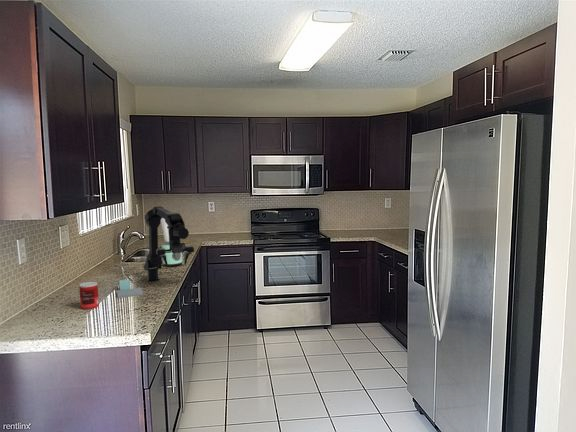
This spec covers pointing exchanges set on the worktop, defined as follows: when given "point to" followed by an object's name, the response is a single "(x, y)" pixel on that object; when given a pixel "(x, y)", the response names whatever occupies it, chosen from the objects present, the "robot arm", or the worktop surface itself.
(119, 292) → the pad
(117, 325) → the worktop surface
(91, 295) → the canned food
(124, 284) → the block
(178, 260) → the blender
